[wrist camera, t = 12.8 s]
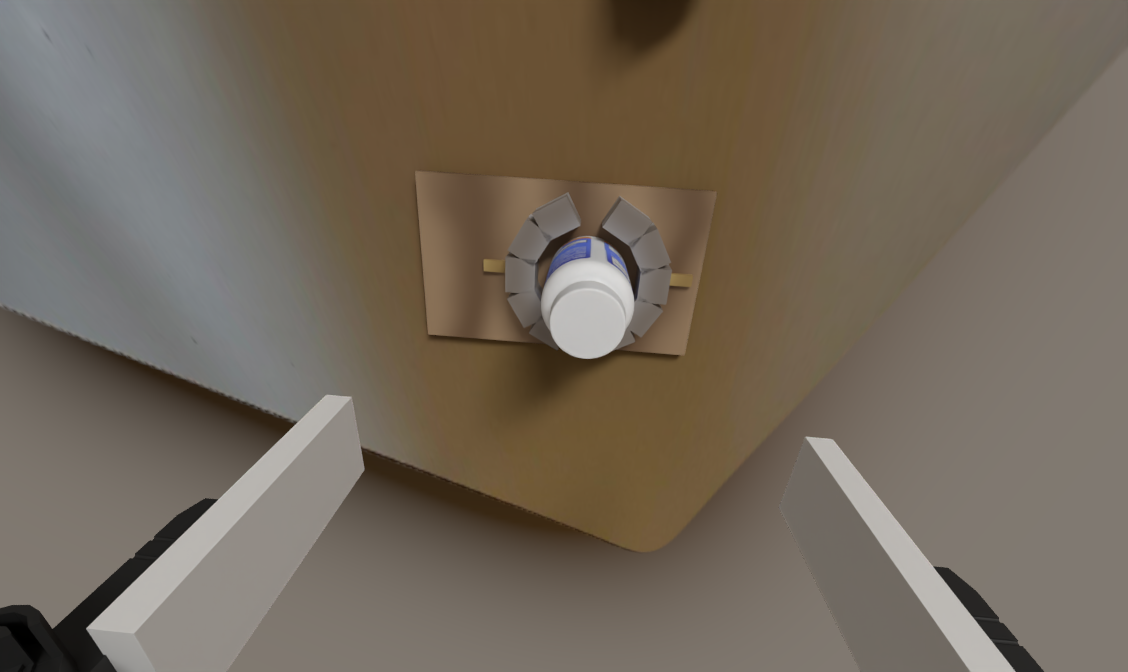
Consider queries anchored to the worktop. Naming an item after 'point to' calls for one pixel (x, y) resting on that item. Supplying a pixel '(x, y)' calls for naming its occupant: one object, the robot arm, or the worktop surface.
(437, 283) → the socket board
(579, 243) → the pill bottle
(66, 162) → the worktop surface
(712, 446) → the worktop surface
